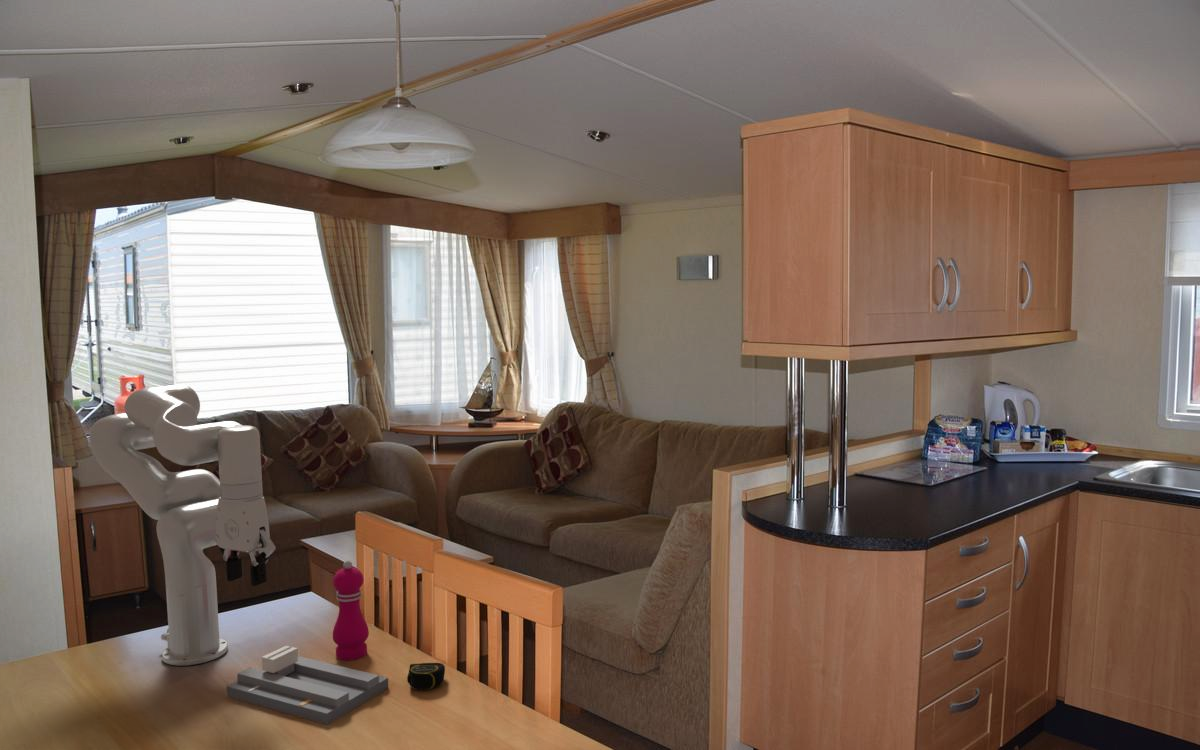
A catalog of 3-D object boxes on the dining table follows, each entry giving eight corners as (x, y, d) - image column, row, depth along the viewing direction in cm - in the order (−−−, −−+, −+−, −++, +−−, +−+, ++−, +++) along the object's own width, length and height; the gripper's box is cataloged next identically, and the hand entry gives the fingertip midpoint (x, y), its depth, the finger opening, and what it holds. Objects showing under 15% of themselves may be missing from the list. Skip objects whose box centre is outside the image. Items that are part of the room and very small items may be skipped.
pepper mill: (359, 662, 184) (355, 567, 182) (327, 660, 186) (322, 565, 184) (375, 648, 191) (371, 556, 189) (343, 646, 193) (339, 554, 191)
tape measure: (445, 677, 177) (445, 659, 177) (442, 693, 170) (441, 673, 170) (410, 679, 177) (409, 660, 176) (405, 695, 170) (404, 675, 170)
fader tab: (263, 678, 172) (261, 656, 172) (287, 666, 178) (286, 645, 177) (274, 681, 171) (273, 659, 170) (298, 669, 176) (297, 647, 176)
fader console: (227, 696, 170) (226, 678, 170) (292, 664, 184) (291, 647, 184) (327, 724, 158) (326, 705, 158) (388, 687, 173) (387, 670, 172)
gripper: (194, 490, 175) (199, 581, 177) (258, 498, 167) (263, 594, 169) (226, 482, 182) (231, 570, 184) (289, 490, 174) (293, 582, 176)
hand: (246, 580), depth 176 cm, fingers open, 5 cm apart
